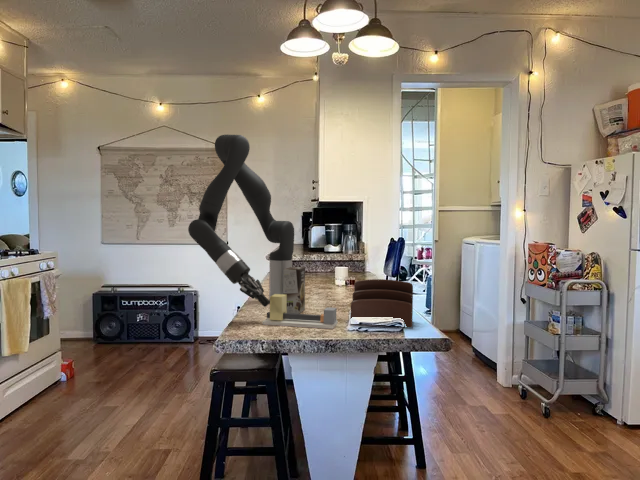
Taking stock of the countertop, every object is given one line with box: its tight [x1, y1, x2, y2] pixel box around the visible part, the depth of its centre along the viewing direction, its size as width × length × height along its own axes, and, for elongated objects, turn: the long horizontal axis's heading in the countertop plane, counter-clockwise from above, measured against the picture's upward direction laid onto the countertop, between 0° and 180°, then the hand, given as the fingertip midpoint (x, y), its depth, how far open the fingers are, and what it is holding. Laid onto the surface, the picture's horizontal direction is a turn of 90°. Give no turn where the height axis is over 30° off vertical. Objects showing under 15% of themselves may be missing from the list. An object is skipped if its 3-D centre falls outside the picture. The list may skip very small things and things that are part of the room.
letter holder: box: [349, 278, 414, 328], centre depth 149 cm, size 10×20×14 cm, turn 78°
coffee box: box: [283, 266, 306, 314], centre depth 167 cm, size 9×6×16 cm
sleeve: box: [269, 294, 287, 320], centre depth 148 cm, size 5×4×8 cm
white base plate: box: [262, 307, 339, 330], centre depth 147 cm, size 8×23×5 cm, turn 77°
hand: (267, 304), depth 149 cm, fingers closed
